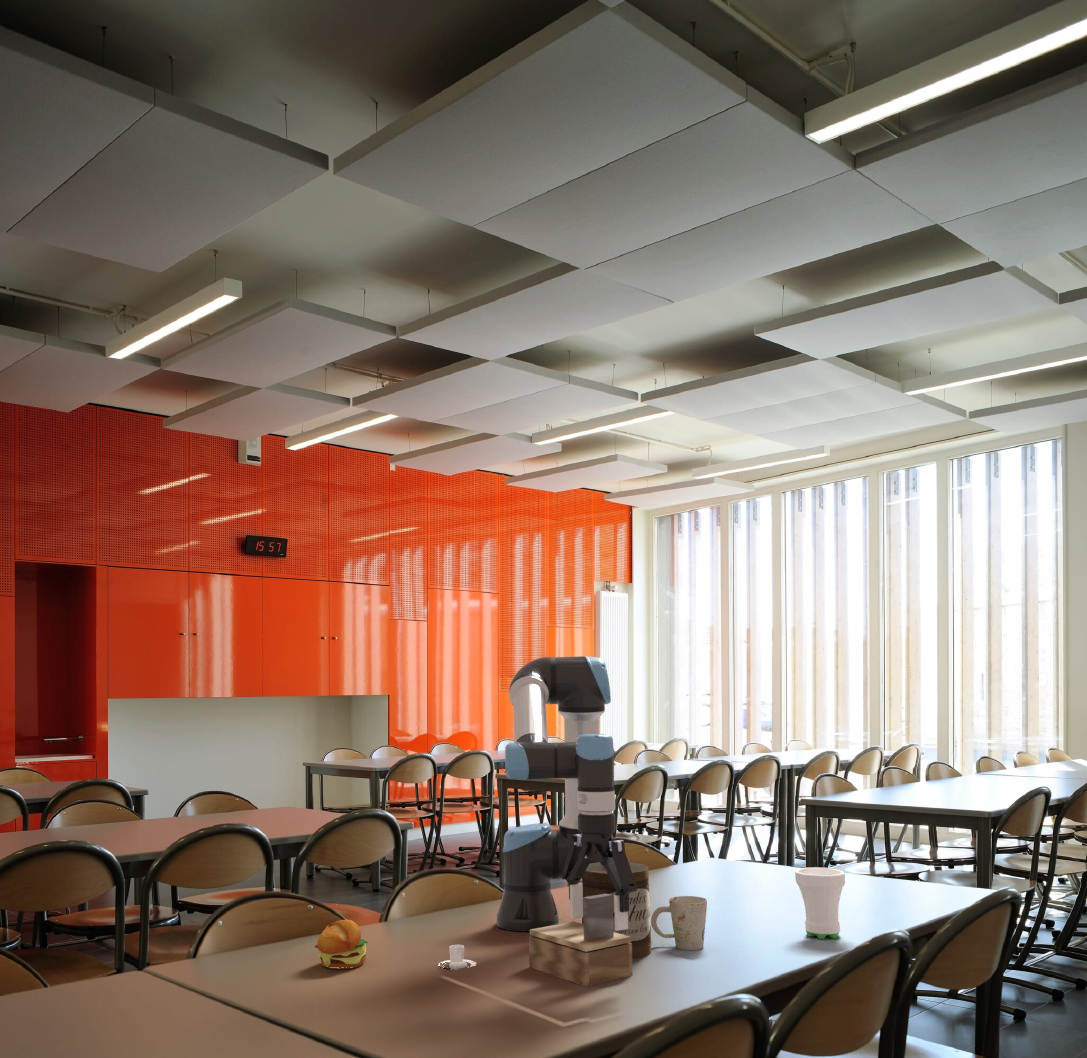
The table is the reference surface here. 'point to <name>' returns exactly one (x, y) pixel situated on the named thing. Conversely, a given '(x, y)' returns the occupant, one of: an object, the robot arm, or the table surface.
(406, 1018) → the table surface
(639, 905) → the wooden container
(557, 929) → the lid
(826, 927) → the cup
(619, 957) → the box
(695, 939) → the mug
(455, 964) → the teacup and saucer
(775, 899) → the table surface
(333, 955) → the cheeseburger
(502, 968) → the table surface
